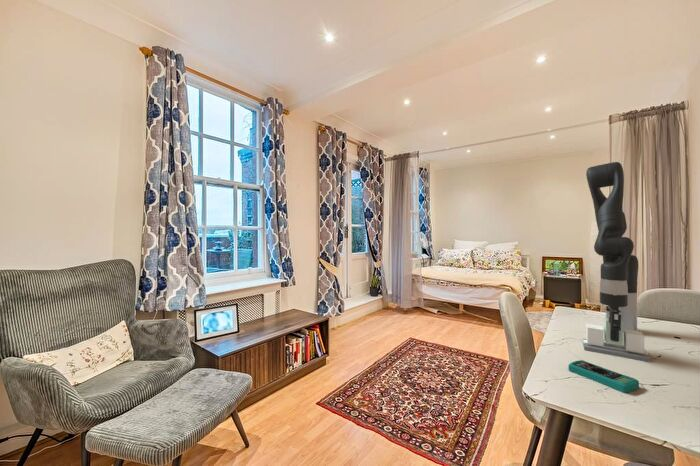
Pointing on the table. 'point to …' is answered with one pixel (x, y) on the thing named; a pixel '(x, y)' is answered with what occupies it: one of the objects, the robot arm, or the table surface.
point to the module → (607, 333)
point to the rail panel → (630, 348)
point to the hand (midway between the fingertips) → (613, 338)
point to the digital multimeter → (604, 376)
